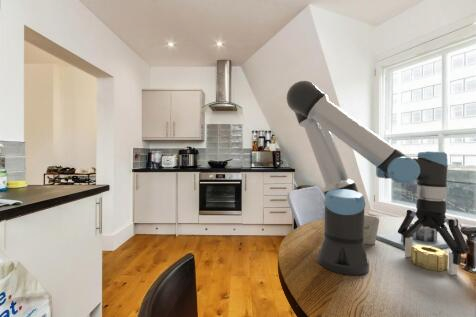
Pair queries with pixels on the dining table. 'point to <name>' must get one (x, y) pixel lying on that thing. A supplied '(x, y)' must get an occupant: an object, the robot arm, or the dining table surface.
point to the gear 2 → (429, 257)
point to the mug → (370, 229)
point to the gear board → (397, 241)
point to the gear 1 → (425, 234)
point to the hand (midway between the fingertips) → (428, 264)
